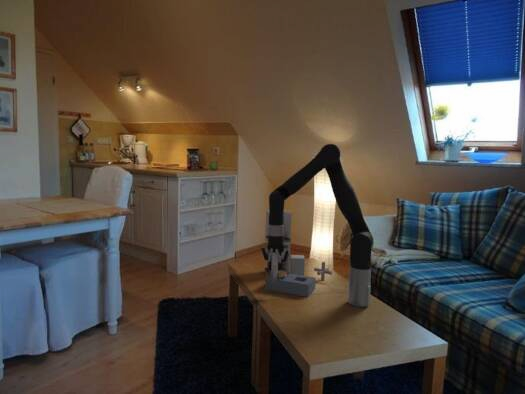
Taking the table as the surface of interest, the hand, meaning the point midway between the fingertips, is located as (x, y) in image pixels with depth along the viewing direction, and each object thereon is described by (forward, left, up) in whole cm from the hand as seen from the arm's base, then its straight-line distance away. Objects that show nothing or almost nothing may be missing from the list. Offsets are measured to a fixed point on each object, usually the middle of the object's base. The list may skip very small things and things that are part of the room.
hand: (275, 269), depth 187 cm
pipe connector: (-15, -33, -13) cm, 39 cm away
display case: (+11, -32, -13) cm, 37 cm away
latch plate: (+2, -12, -6) cm, 14 cm away
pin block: (-4, -12, -13) cm, 18 cm away
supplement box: (-2, -28, -13) cm, 31 cm away
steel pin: (0, 0, -5) cm, 5 cm away
